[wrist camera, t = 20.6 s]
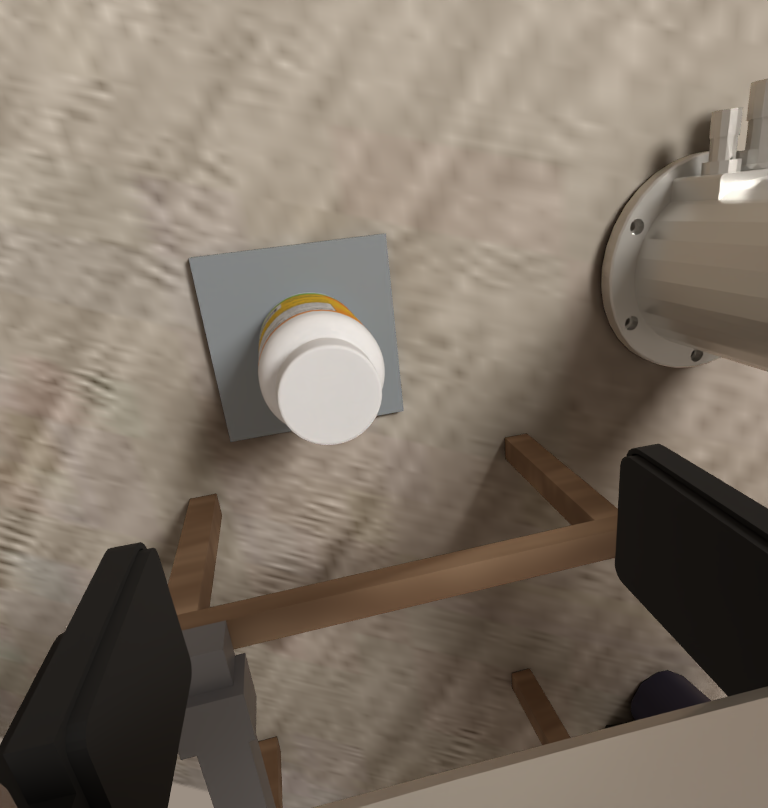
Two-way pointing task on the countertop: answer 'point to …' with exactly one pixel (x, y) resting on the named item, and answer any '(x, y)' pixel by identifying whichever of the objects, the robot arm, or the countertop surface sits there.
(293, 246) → the slate mat
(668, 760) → the robot arm
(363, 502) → the countertop surface
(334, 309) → the supplement bottle
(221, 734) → the tie bar
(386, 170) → the countertop surface
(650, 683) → the speaker
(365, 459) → the countertop surface
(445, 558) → the frame
